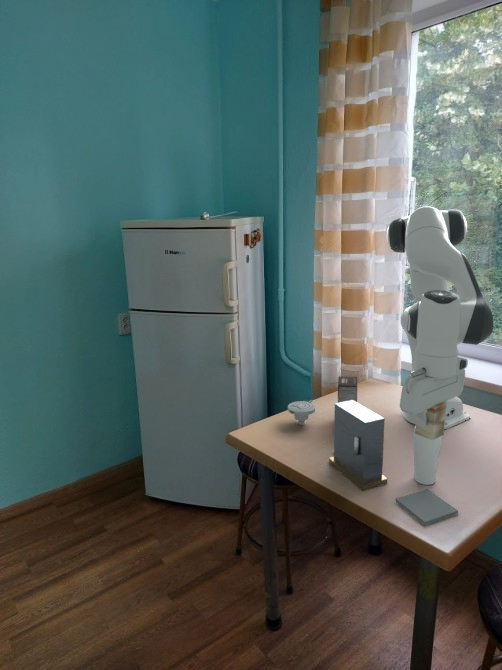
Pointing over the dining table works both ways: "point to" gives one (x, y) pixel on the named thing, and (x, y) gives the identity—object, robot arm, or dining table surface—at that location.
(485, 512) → the dining table surface
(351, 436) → the cabinet
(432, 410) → the block
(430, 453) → the drinking glass
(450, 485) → the dining table surface
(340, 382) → the coffee box
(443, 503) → the mat
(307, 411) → the showerhead
